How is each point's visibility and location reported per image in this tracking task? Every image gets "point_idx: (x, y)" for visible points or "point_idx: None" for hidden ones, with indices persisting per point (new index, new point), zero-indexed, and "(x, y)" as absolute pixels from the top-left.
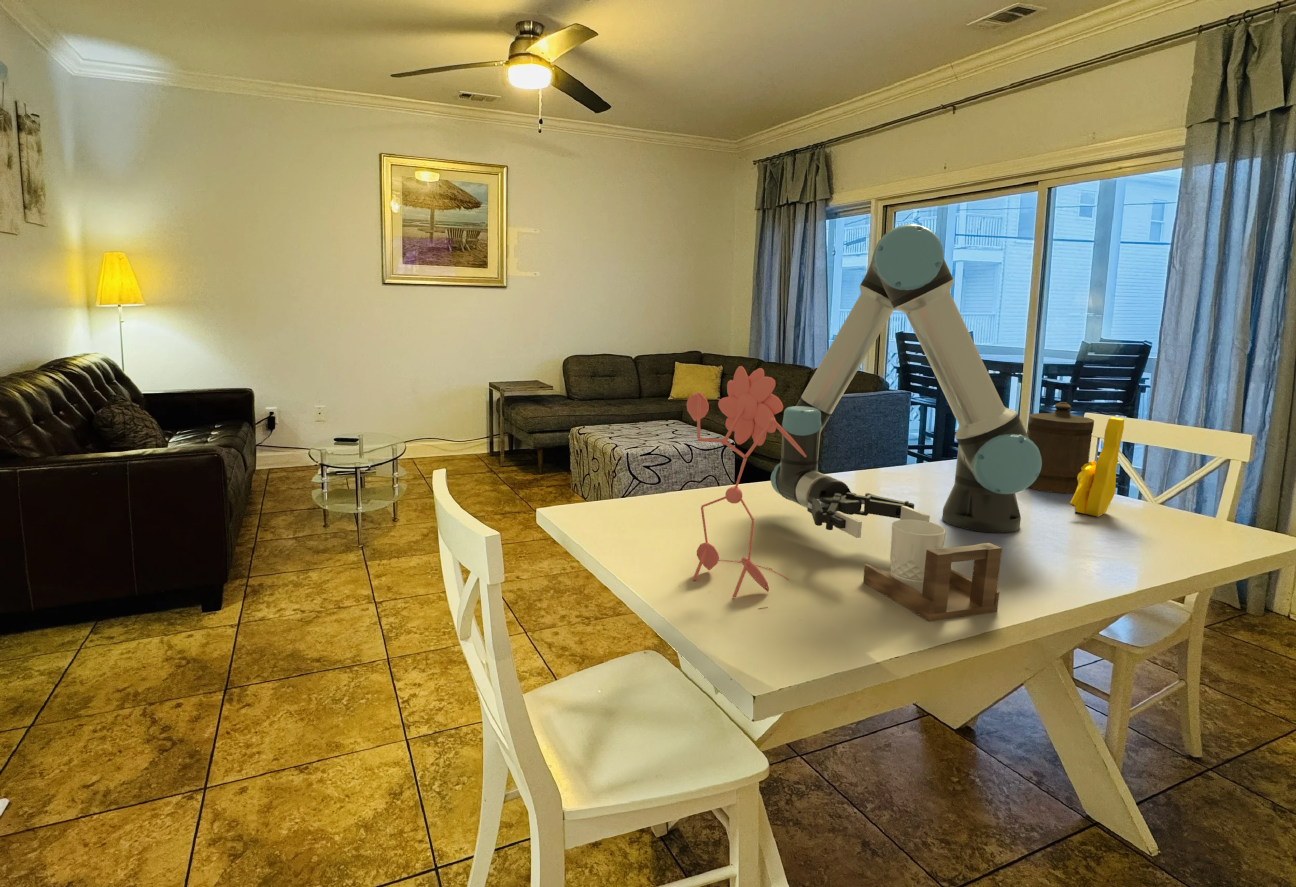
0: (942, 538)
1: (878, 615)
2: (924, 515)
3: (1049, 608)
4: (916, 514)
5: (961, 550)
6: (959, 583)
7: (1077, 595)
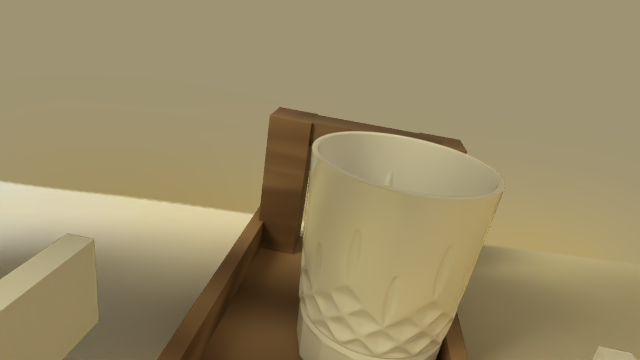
0: (366, 147)
1: (529, 331)
2: (82, 248)
3: (153, 209)
4: (22, 310)
5: (384, 128)
6: (237, 279)
7: (19, 201)
